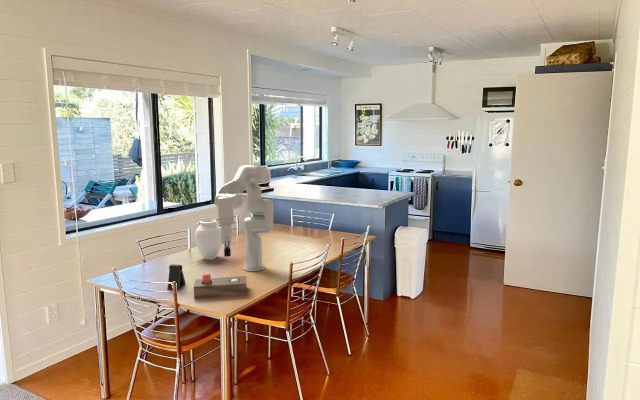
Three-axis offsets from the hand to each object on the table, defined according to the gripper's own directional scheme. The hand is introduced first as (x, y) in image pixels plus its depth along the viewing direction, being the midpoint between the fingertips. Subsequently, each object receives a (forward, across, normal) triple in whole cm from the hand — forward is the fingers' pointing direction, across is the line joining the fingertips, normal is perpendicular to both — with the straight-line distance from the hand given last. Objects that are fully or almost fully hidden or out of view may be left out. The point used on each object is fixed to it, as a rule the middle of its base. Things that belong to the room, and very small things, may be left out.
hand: (227, 256), depth 237 cm
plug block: (+19, 0, -4) cm, 20 cm away
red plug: (+15, 0, -11) cm, 18 cm away
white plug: (+19, 0, +3) cm, 19 cm away
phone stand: (+20, -15, -28) cm, 37 cm away
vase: (+19, -67, -12) cm, 70 cm away
